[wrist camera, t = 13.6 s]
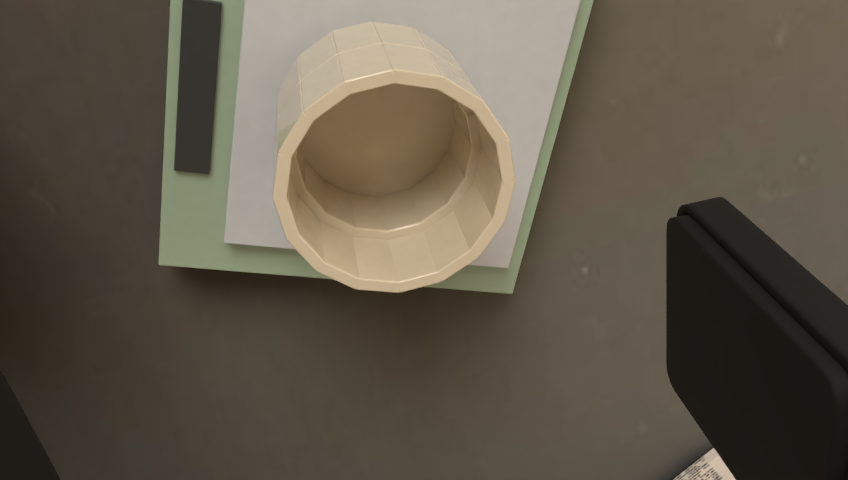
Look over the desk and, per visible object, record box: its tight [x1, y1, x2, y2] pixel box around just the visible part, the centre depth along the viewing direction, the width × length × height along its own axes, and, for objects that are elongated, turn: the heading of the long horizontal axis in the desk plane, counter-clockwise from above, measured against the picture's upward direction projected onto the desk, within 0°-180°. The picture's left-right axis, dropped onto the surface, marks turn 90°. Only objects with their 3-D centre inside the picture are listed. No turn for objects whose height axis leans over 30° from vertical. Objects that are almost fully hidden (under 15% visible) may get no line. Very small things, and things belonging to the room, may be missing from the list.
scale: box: [159, 0, 594, 294], centre depth 29 cm, size 14×14×3 cm
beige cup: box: [272, 21, 515, 293], centre depth 25 cm, size 7×7×6 cm
